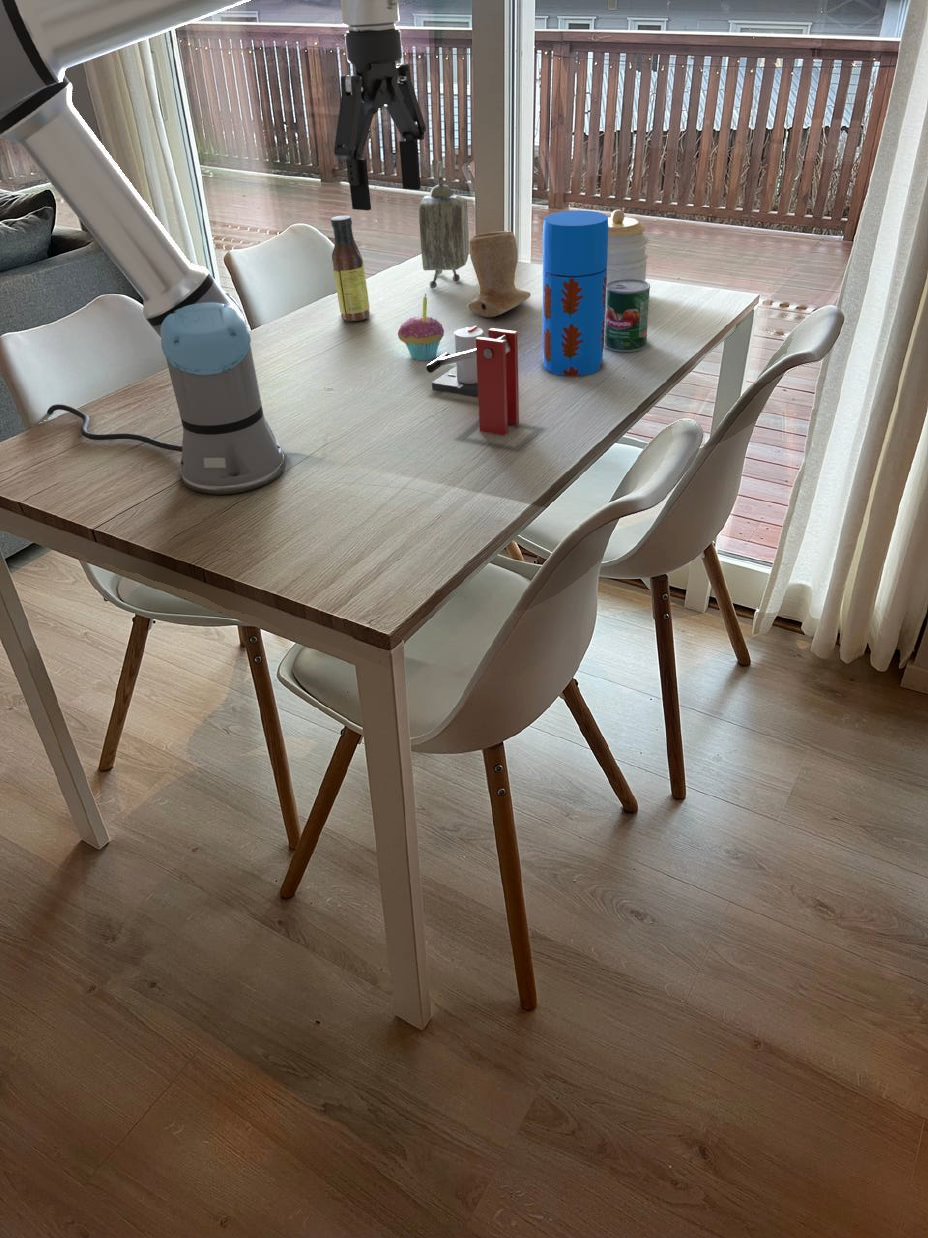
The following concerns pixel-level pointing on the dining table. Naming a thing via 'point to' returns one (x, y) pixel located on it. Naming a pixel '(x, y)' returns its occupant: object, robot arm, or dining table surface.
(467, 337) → the knob
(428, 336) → the cupcake
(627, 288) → the canned tomato
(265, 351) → the dining table surface
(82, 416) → the robot arm
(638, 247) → the jar
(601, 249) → the thermos
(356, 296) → the sauce bottle
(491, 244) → the tan piece
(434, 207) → the tabletop clock
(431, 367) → the lever
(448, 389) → the dial panel
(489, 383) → the red lever stand
